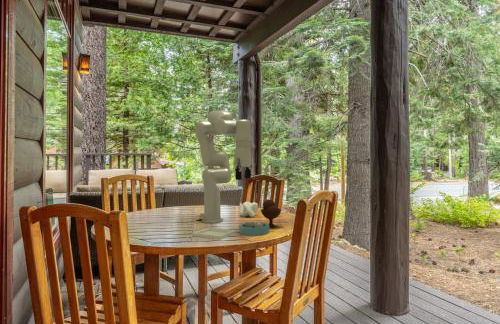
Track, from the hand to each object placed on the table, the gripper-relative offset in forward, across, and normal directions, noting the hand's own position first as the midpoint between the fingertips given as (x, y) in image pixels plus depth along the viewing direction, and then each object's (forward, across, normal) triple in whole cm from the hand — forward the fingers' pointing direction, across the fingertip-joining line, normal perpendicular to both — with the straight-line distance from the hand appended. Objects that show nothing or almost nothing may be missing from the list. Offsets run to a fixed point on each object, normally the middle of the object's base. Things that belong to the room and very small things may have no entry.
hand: (243, 179), depth 178 cm
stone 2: (+26, -1, +8) cm, 27 cm away
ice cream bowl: (+27, -20, +6) cm, 34 cm away
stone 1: (+26, -1, +3) cm, 26 cm away
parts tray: (+27, +11, -10) cm, 31 cm away
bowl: (+27, -2, +5) cm, 28 cm away
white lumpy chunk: (+28, -45, -20) cm, 56 cm away
